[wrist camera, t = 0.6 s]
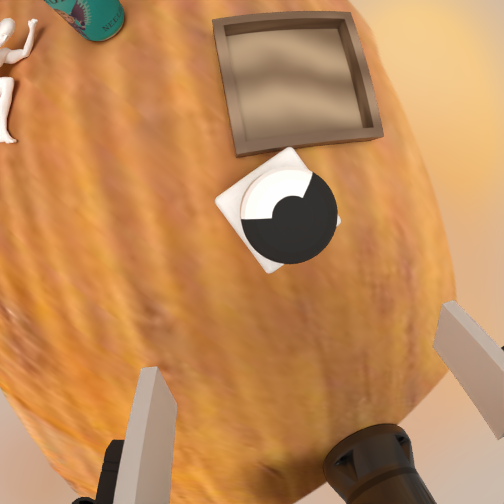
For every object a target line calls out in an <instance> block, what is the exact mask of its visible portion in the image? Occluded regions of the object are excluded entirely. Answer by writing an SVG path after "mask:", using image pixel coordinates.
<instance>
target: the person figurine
mask: <svg viewBox="0 0 504 504" xmlns="http://www.w3.org/2000/svg"><path fill="white" fill-rule="evenodd" d="M37 21H38V20H37V19H32V20H31V22H30V21H28V26H29V28H30V32H29V35H28V38H27V41H26V43H25V45H24V49H23V50H22V49H17V50H11V49H9V48H2V49H0V67H1V66H2V65H3V63H8V64H13V63H16V62H17V61H19V60H20V59H22V58H25V57H28V56H29V55H30V52H31V49H32V47H33V43H34V31H35V27H36V24H37ZM14 31H15V21H14V20H12V19H11V18H5V19H4V20H2V21H1V22H0V47H1V46H2V45H3V44H4V43H5V42H6V41H7V40H8V39H9V38H10V37H11V36H12V34H13V32H14ZM13 88H14V79H13V78H12V77H0V96H1V97H0V142H6V143H14V142H17V141H16V139H13V138H12V137H11V136H10V135H9V133H8V131H7V116H8V112H9V108H10V105H11V102H12V91H13Z"/></svg>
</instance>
